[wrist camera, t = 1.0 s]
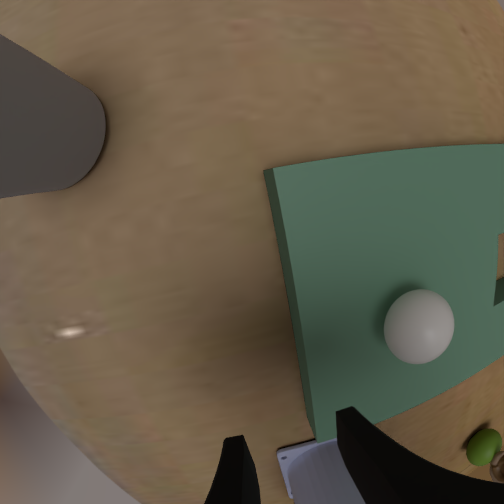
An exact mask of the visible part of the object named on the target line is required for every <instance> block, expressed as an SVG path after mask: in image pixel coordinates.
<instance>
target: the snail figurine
mask: <svg viewBox="0 0 504 504" xmlns="http://www.w3.org/2000/svg"><path fill="white" fill-rule="evenodd" d="M501 446H502V438H501V435H500V434H499V433H498V432H497V431H496V430H494V429H483V430H481V431H479V432H477V433H476V434H475V435H474V436H473V437H472V438H471V440H470V441H469V443H468V446H467V450H466V455H467V458H468V460H469V462H470V463H472V464H473V465H476V466H483V465H486V464H488V463H490V462H491V463H490V475H491V478H492V480H493V482H498V483H504V451H500V450H501Z"/></svg>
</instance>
